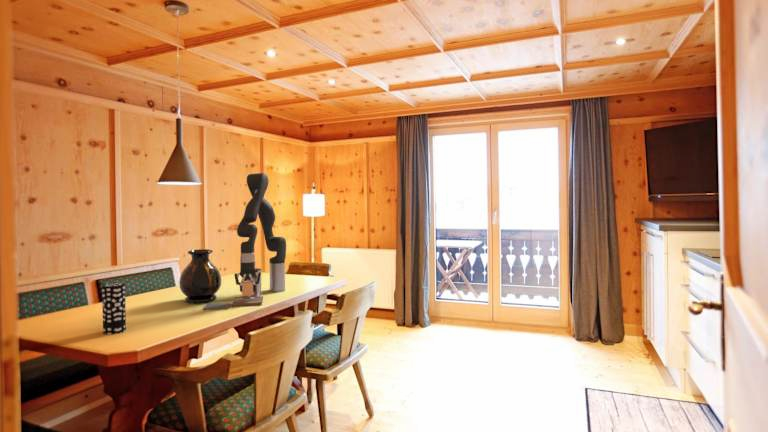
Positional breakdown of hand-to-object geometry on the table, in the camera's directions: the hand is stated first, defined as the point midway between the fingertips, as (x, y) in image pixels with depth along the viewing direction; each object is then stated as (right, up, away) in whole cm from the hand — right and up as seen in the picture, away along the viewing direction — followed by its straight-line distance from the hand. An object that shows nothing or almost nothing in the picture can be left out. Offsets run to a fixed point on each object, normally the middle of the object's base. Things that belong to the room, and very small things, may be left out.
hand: (247, 291), depth 238 cm
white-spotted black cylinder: (-41, -8, -52) cm, 66 cm away
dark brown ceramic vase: (-28, -6, +5) cm, 29 cm away
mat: (-13, -6, -9) cm, 17 cm away
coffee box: (-2, -6, +16) cm, 17 cm away
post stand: (0, -6, 0) cm, 6 cm away
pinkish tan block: (0, -1, 0) cm, 1 cm away
